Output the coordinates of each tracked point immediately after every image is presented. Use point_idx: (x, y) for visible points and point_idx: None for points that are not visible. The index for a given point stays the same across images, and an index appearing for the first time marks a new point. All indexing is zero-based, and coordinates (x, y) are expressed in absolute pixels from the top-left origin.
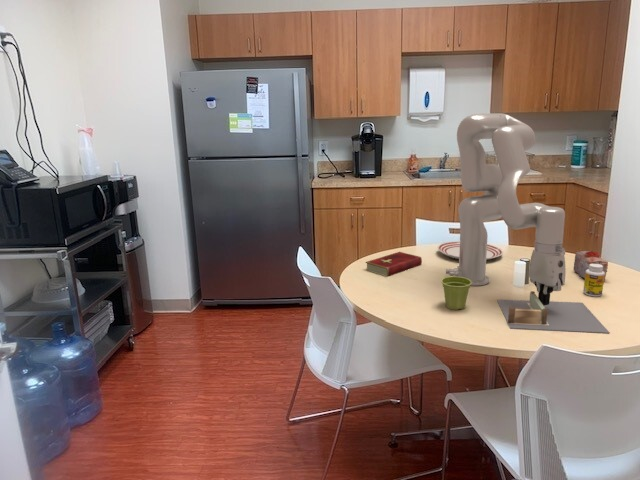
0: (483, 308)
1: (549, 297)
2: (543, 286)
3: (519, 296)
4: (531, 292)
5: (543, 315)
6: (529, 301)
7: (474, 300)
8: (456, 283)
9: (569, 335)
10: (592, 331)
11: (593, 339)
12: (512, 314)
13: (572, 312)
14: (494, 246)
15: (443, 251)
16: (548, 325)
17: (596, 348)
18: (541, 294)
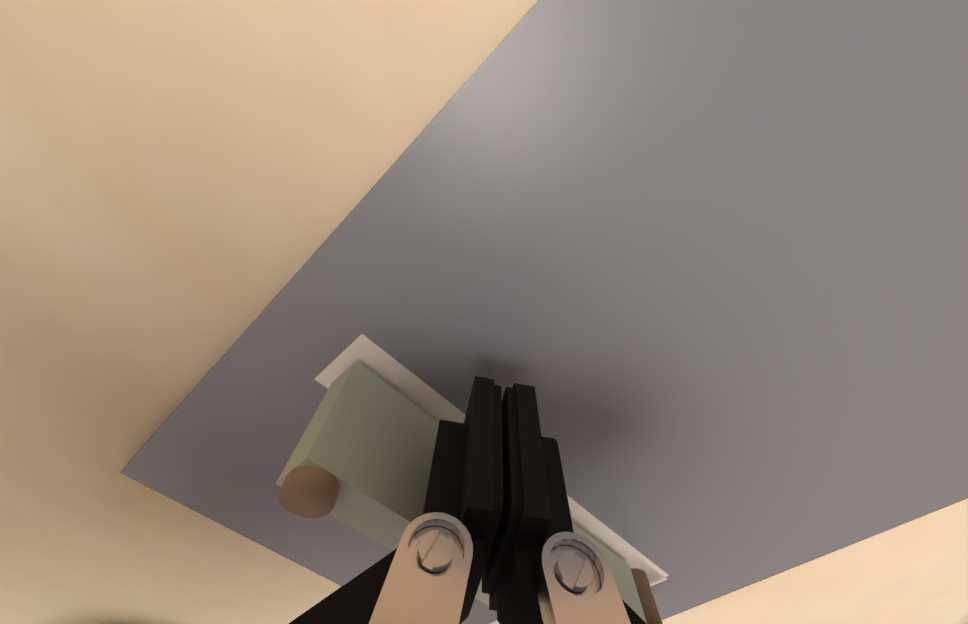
0: (236, 599)
1: (564, 498)
2: (426, 622)
3: (94, 244)
4: (310, 514)
5: None
6: (328, 395)
7: (79, 555)
8: None
9: (805, 585)
10: (962, 497)
11: (953, 554)
12: None
13: (765, 277)
14: None
15: None
16: (666, 580)
17: (962, 613)
18: (490, 593)
